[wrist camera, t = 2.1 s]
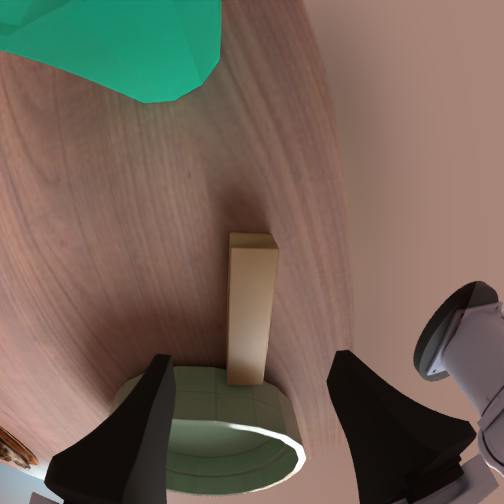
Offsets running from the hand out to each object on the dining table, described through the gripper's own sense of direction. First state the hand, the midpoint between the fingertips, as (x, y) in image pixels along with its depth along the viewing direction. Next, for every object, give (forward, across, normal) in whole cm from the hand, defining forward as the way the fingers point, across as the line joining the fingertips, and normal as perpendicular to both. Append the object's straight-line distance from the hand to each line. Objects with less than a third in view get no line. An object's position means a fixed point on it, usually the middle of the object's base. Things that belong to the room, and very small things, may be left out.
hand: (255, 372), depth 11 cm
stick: (+5, 0, 0) cm, 5 cm away
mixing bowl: (+5, +3, +12) cm, 13 cm away
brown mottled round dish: (+6, +41, +33) cm, 53 cm away
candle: (+6, +5, -14) cm, 16 cm away
